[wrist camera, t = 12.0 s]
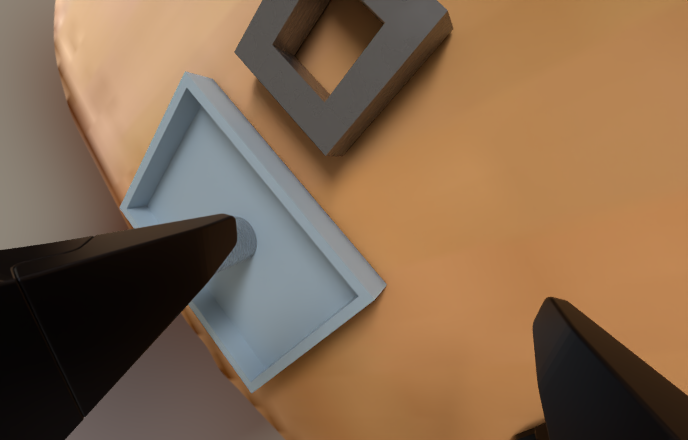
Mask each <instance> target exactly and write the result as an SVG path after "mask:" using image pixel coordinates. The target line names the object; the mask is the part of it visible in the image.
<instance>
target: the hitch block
mask: <svg viewBox="0 0 688 440" xmlns="http://www.w3.org/2000/svg"><path fill="white" fill-rule="evenodd" d="M329 1H330V0H262V2H261V4H260V6H259V8H258V10H257V11H256V13H255V15H254V17H253V19H252V21H251V22H250V24H249V26H248V28H247V30H246V32H245V33H244V35H243V37H242V39H241V41H240V43H239V44H238V46H237V48H236V50H235V54H236V55H237V56H238V57H239V58H240V59H241V60H242V62H243V63H244V64H245V65H246V66H247V67H248V68H249V69H250V71H251V72H252V73H253V74H254V75H255V76H256V77H257V79H258V80H259V81H260V82H261V83H262V84H263V85H264V87H265V88H266V89H267V90H268V91H269V92H270V93H271V94H272V96H273V97H274V98H275V99H276V100H277V101H278V102H279V104H280V105H281V106H282V107H283V108H284V109H285V110H286V112H287V113H288V114H289V115H290V116H291V117H292V118H293V120H294V121H295V122H296V123H297V124H298V125H299V126H300V127H301V129H302V130H303V131H304V132H305V133H306V134H307V135H308V137H309V138H310V139H311V140H312V141H313V142H314V143H315V145H316V146H317V147H318V148H319V149H320V150H321V151H322V152H323V154H324V155H325V156H343V155H344V154H345V152H346V151H347V150H348V149H349V148H350V147H351V146H352V144H353V143H354V142H355V141H356V140H357V139H358V138H359V136H360V135H361V134H362V133H363V132H364V131H365V130H366V128H367V127H368V126H369V125H370V124H371V123H372V122H373V120H374V119H375V118H376V117H377V116H378V115H379V113H380V112H381V111H382V110H383V109H384V108H385V107H386V105H387V104H388V103H389V102H390V101H391V100H392V99H393V97H394V96H395V95H396V94H397V93H398V92H399V91H400V89H401V88H402V87H403V86H404V85H405V84H406V83H407V81H408V80H409V79H410V78H411V77H412V76H413V75H414V73H415V72H416V71H417V70H418V69H419V68H420V67H421V65H422V64H423V63H424V62H425V61H426V60H427V58H428V57H429V56H430V55H431V54H432V53H433V52H434V50H435V49H436V48H437V47H438V46H439V45H440V44H441V42H442V41H443V40H444V39H445V38H446V37H447V36H448V34H449V33H450V32H451V31H452V30H453V26H452V23H451V20H450V16H449V13H448V10H446V9H445V8H444V7H443V6H442V5H441V4H440V3H439V2H438V1H437V0H360V1H361V2H362V3H363V4H364V5H365V6H366V7H367V8H368V9H369V10H370V11H371V12H372V13H373V14H374V15H375V16H376V17H377V18H378V19H379V20H380V21H381V22H382V23H383V24H384V25H383V26H382V28H381V29H380V30H379V31H378V33H377V34H376V35H375V37H374V38H373V39H372V41H371V42H370V43H369V45H368V46H367V47H366V49H365V50H364V51H363V53H362V54H361V55H360V57H359V58H358V59H357V61H356V62H355V63H354V64H353V66H352V67H351V68H350V70H349V71H348V72H347V74H346V75H345V76H344V78H343V79H342V80H341V82H340V83H339V84H338V86H337V87H336V88H335V90H334V91H333V92H332V94H331V95H330V94H329V93H328V92H327V91H326V90H325V89H324V88H323V87H322V86H321V84H320V83H319V82H318V81H317V80H316V79H315V78H314V77H313V76H312V75H311V74H310V72H309V71H308V70H307V69H306V68H305V67H304V66H303V65H302V64H301V63H300V62H299V61H298V59H297V58H296V57H295V56H294V55H295V54H296V52H297V51H298V49H299V48H300V46H301V44H302V43H303V41H304V40H305V38H306V37H307V35H308V34H309V32H310V31H311V29H312V27H313V26H314V24H315V23H316V21H317V20H318V18H319V17H320V15H321V14H322V12H323V10H324V9H325V7H326V6H327V4H328V3H329Z"/></svg>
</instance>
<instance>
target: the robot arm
mask: <svg viewBox="0 0 688 440" xmlns="http://www.w3.org/2000/svg"><path fill="white" fill-rule="evenodd" d="M236 243H237V226H236V219H235V217H234V216H231V215H227V214H216V215H210V216H204V217H198V218H193V219H187V220H181V221H175V222H170V223H164V224H158V225H152V226H147V227H141V228H135V229H130V230H124V231H118V232H113V233H107V234H101V235H96V236H94V237H93V236H89V237H83V238H78V239H72V240H65V241H59V242H54V243H47V244H40V245H33V246H27V247H19V248H12V249H5V250H0V440H65V439H66V438H67V437H68V436H69V435H70V433H71V432H72V431H73V430H74V429H75V428H76V427H77V426H78V425H79V424H80V422H81V421H82V420H83V418H84V417H86V416H87V415H88V413H89V412H90V411H91V410H92V409H93V408H94V407H95V406H96V405H97V404H98V402H99V401H100V400H101V399H102V398H103V397H104V396H105V395H106V394H107V393H108V391H109V390H110V389H111V388H112V387H113V386H114V385H115V384H116V383H117V382H118V381H119V379H120V378H121V377H122V376H123V375H124V374H125V373H126V372H127V370H129V369H130V367H131V366H132V365H133V364H134V363H135V362H136V361H137V360H138V359H139V358H140V357H141V355H142V354H143V353H144V352H145V351H146V350H147V349H148V348H149V347H150V346H151V345H152V343H153V342H154V341H155V340H156V339H157V338H158V337H159V336H160V335H161V334H162V332H163V331H164V330H165V329H166V328H167V327H168V326H169V325H170V324H171V323H172V321H173V320H174V319H175V318H176V317H177V316H178V315H179V314H180V313H181V312H182V311H183V310H184V308H185V307H186V306H187V305H188V304H189V303H190V302H191V301H192V300H193V299H194V297H195V296H196V295H197V294H198V293H199V292H200V291H201V290H202V289H203V288H204V286H205V285H206V284H207V283H208V282H209V281H210V279H211V278H212V277H213V276H214V274H215V273H216V272H217V270H218V269H219V267H220V266H221V265H222V263H223V262H224V261H225V259H226V258H227V257H228V255H229V254H230V253H231V251H232V250H233V249H234V247H235V246H236ZM533 339H534V350H535V361H536V372H537V381H538V388H539V393H540V398H541V403H542V408H543V412H544V417H545V421H546V423H545V424H543V425H540V426H537V427H536V428H533V429H531V430H528V431H525V432H522V433H520V434H517V435H516V436H515V440H688V396H687V395H686V394H685V393H684V392H682V391H681V390H680V389H679V388H677V387H676V386H675V385H673V384H672V383H671V382H670V381H668V380H667V379H666V378H665V377H663V376H662V375H661V374H659V373H658V372H657V371H656V370H654V369H653V368H652V367H651V366H649V365H648V364H647V363H646V362H644V361H643V360H642V359H640V358H639V357H638V356H637V355H635V354H634V353H633V352H632V351H630V350H629V349H628V348H626V347H625V346H624V345H623V344H621V343H620V342H619V341H618V340H616V339H615V338H614V337H612V336H611V335H610V334H609V333H607V332H606V331H605V330H604V329H602V328H601V327H600V326H599V325H597V324H596V323H595V322H593V321H592V320H591V319H590V318H588V317H587V316H586V315H585V314H583V313H582V312H581V311H579V310H578V309H577V308H576V307H574V306H573V305H572V304H571V303H569V302H568V301H566V300H562V299H558V298H554V297H547V298H546V299H545V300H544V302H543V304H542V306H541V308H540V310H539V312H538V314H537V316H536V318H535V320H534V322H533Z"/></svg>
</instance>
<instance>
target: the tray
mask: <svg viewBox="0 0 688 440" xmlns="http://www.w3.org/2000/svg"><path fill="white" fill-rule="evenodd" d="M120 209H121V211H122V212H123V213H124V215H125V216H126V218H127V219H128V220H129V222H130V223H131V225H132V226H133V228H134V229H135V228H141V227H147V226H152V225H158V224H164V223H170V222H175V221H181V220H187V219H193V218H198V217H204V216H210V215H216V214H227V215H231V216H234V217H241V218H243V219H245V220H246V221H247V222H248V223H249V224H250V225H251V226H252V228H253V229H254V232H255V234H256V238H257V248H256V251H255V253H254V255H253V256H252V257H251V258H250V259H248V260H246V261H244V262H242V263H239V264H237V265H235V266H232V267H230V268H228V269H226V270H223V271H221V272H219V273H216V274H214V276H213V277H212V278H211V279H210V281H209V282H208V283H207V284H206V285H205V286H204V288H203V289H202V290H201V291H200V292H199V293H198V294H197V295H196V296H195V297H194V299H193V300H192V301H191V302H190V303H189V304H188V305H189V306H190V308H191V309H192V310H193V312H194V313H195V315H196V316H197V318H198V319H199V320H200V322H201V323H202V325H203V326H204V327H205V329H206V330H207V332H208V333H209V334H210V336H211V337H212V339H213V340H214V341H215V343H216V344H217V346H218V347H219V348H220V350H221V351H222V353H223V354H224V356H225V357H226V358H227V360H228V361H229V363H230V364H231V365H232V367H233V368H234V370H235V371H236V372H237V374H238V375H239V377H240V378H241V379H242V381H243V382H244V384H245V385H246V386H247V388H248V389H249V391H250V392H251V393H253V392H254V391H256V390H257V389H258V388H260V387H261V386H262V385H264V384H265V383H266V382H268V381H269V380H270V379H271V378H273V377H274V376H275V375H277V374H278V373H279V372H281V371H282V370H283V369H285V368H286V367H287V366H289V365H290V364H291V363H292V362H294V361H295V360H296V359H298V358H299V357H300V356H302V355H303V354H304V353H306V352H307V351H308V350H310V349H311V348H312V347H313V346H315V345H316V344H317V343H319V342H320V341H321V340H323V339H324V338H325V337H327V336H328V335H329V334H330V333H332V332H333V331H334V330H336V329H337V328H338V327H340V326H341V325H342V324H344V323H345V322H346V321H348V320H349V319H350V318H351V317H353V316H354V315H355V314H357V313H358V312H359V311H361V310H362V309H363V308H365V307H366V306H367V305H368V304H370V303H371V302H372V301H374V300H375V299H376V298H377V296H378V295H379V294H380V293H381V292H382V290H383V289H384V288H385V287H386V285H387V284H386V283H385V282H384V281H383V280H382V278H381V277H380V276H379V275H378V274H377V272H376V271H375V270H374V269H373V268H372V267H371V265H370V264H369V263H368V262H367V261H366V259H365V258H364V257H363V256H362V255H361V254H360V252H359V251H358V250H357V249H356V248H355V246H354V245H353V244H352V243H351V242H350V241H349V239H348V238H347V237H346V236H345V235H344V233H343V232H342V231H341V230H340V229H339V228H338V226H337V225H336V224H335V223H334V222H333V220H332V219H331V218H330V217H329V216H328V215H327V213H326V212H325V211H324V210H323V209H322V207H321V206H320V205H319V204H318V203H317V202H316V200H315V199H314V198H313V197H312V196H311V194H310V193H309V192H308V191H307V190H306V189H305V187H304V186H303V185H302V184H301V183H300V181H299V180H298V179H297V178H296V177H295V176H294V174H293V173H292V172H291V171H290V170H289V168H288V167H287V166H286V165H285V164H284V163H283V161H282V160H281V159H280V158H279V157H278V155H277V154H276V153H275V152H274V151H273V150H272V148H271V147H270V146H269V145H268V144H267V142H266V141H265V140H264V139H263V138H262V137H261V135H260V134H259V133H258V132H257V131H256V129H255V128H254V127H253V126H252V125H251V124H250V122H249V121H248V120H247V119H246V118H245V116H244V115H243V114H242V113H241V112H240V111H239V109H238V108H237V107H236V106H235V105H234V104H233V102H232V101H231V100H230V99H229V98H228V96H227V95H226V94H225V93H224V92H223V91H222V89H221V88H220V87H219V86H218V85H217V83H216V82H215V81H214V80H213V79H211V78H208V77H204V76H200V75H197V74H193V73H189V72H186V71H185V73H184V75H183V77H182V79H181V81H180V83H179V85H178V87H177V89H176V91H175V93H174V96H173V98H172V100H171V102H170V104H169V106H168V108H167V110H166V112H165V114H164V116H163V118H162V121H161V123H160V125H159V127H158V129H157V131H156V133H155V135H154V137H153V139H152V141H151V143H150V146H149V148H148V150H147V152H146V154H145V156H144V158H143V160H142V162H141V164H140V166H139V168H138V171H137V173H136V175H135V177H134V179H133V181H132V183H131V185H130V187H129V189H128V191H127V193H126V196H125V198H124V200H123V202H122V204H121V206H120Z"/></svg>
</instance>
